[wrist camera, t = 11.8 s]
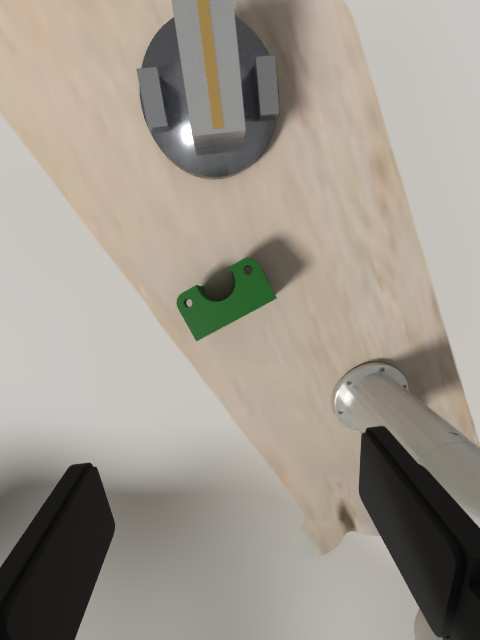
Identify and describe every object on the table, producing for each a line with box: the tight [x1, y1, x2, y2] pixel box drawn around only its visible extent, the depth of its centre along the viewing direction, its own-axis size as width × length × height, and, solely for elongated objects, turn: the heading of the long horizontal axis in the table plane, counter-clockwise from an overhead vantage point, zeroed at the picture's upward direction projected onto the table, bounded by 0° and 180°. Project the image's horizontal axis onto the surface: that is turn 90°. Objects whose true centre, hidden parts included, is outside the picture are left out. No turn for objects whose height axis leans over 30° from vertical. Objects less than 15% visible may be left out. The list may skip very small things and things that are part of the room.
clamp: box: [177, 258, 277, 341], centre depth 34 cm, size 12×6×9 cm, turn 112°
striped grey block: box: [172, 0, 246, 156], centre depth 25 cm, size 5×10×6 cm, turn 7°
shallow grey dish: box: [137, 17, 279, 179], centre depth 28 cm, size 15×15×3 cm
